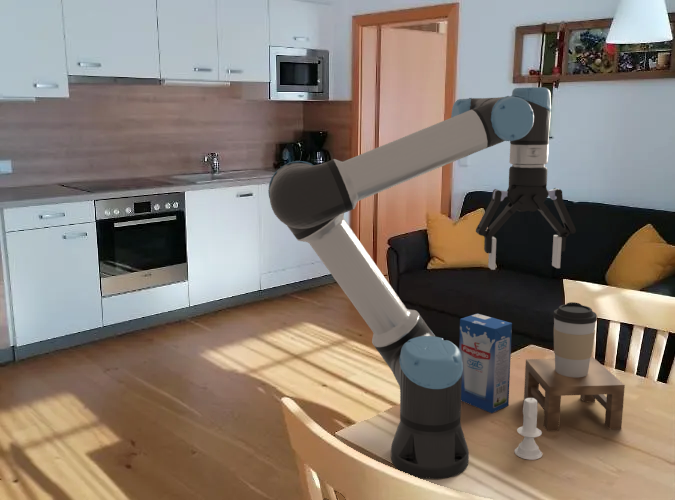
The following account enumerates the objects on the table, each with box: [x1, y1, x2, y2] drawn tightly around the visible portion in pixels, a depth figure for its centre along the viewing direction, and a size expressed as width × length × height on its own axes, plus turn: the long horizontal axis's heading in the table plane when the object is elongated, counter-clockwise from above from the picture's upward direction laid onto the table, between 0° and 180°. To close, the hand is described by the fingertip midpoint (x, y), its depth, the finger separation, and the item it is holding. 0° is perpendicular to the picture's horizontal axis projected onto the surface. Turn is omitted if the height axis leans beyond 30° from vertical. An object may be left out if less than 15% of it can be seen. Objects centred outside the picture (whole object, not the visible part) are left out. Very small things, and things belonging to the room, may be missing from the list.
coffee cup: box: [552, 301, 598, 377], centre depth 147 cm, size 9×9×15 cm
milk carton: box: [458, 313, 513, 414], centre depth 155 cm, size 10×6×20 cm, turn 40°
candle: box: [514, 398, 543, 461], centre depth 132 cm, size 5×5×12 cm
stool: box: [523, 357, 626, 432], centre depth 150 cm, size 16×16×10 cm
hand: (523, 267), depth 140 cm, fingers open, 13 cm apart
